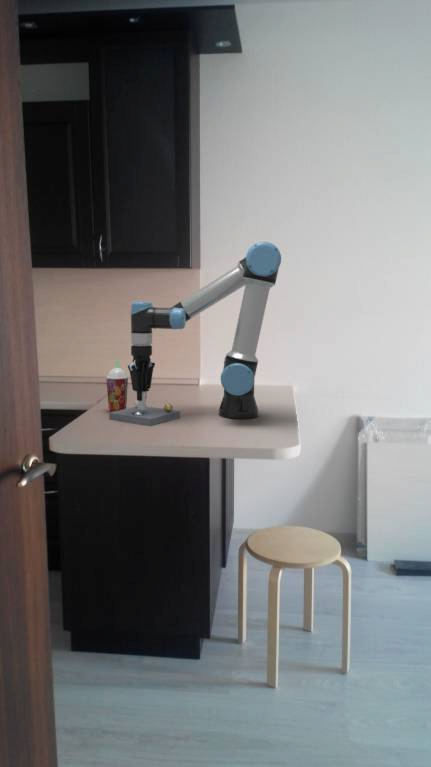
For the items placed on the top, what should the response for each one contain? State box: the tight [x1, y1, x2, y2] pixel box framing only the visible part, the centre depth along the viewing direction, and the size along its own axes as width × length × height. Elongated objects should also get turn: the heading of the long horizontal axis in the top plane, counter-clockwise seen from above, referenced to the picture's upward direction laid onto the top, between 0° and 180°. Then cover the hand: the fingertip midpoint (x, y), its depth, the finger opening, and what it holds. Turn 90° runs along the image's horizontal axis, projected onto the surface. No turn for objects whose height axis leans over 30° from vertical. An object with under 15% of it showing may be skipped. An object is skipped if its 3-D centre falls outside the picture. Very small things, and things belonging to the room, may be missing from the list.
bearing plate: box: [108, 405, 181, 427], centre depth 218 cm, size 19×18×2 cm
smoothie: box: [105, 360, 129, 413], centre depth 229 cm, size 8×8×20 cm
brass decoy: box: [163, 403, 174, 412], centre depth 218 cm, size 3×3×3 cm
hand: (141, 408), depth 216 cm, fingers closed
